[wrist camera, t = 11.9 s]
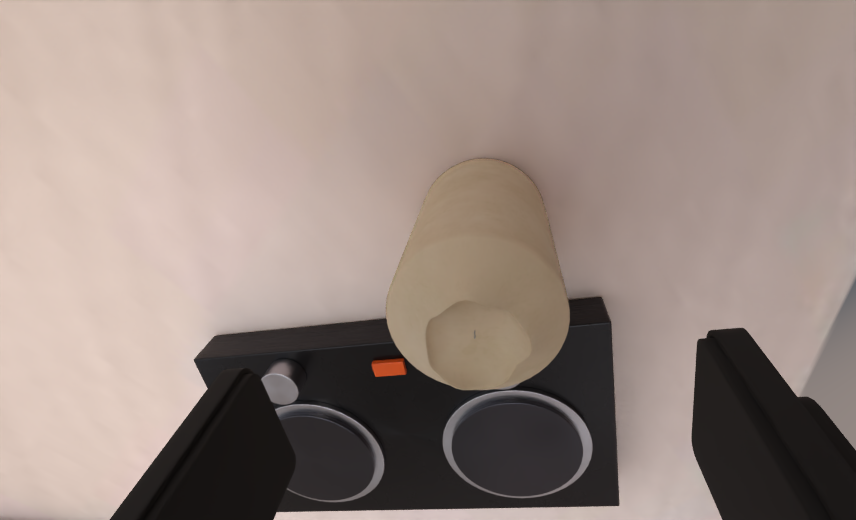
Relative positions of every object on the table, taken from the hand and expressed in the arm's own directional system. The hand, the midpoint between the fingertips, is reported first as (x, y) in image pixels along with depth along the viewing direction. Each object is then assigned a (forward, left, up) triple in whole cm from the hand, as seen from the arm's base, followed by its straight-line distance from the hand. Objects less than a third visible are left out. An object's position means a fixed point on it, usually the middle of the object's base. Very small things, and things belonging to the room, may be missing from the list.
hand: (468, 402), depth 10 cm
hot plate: (+12, -6, -13) cm, 18 cm away
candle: (+1, 0, -13) cm, 13 cm away
